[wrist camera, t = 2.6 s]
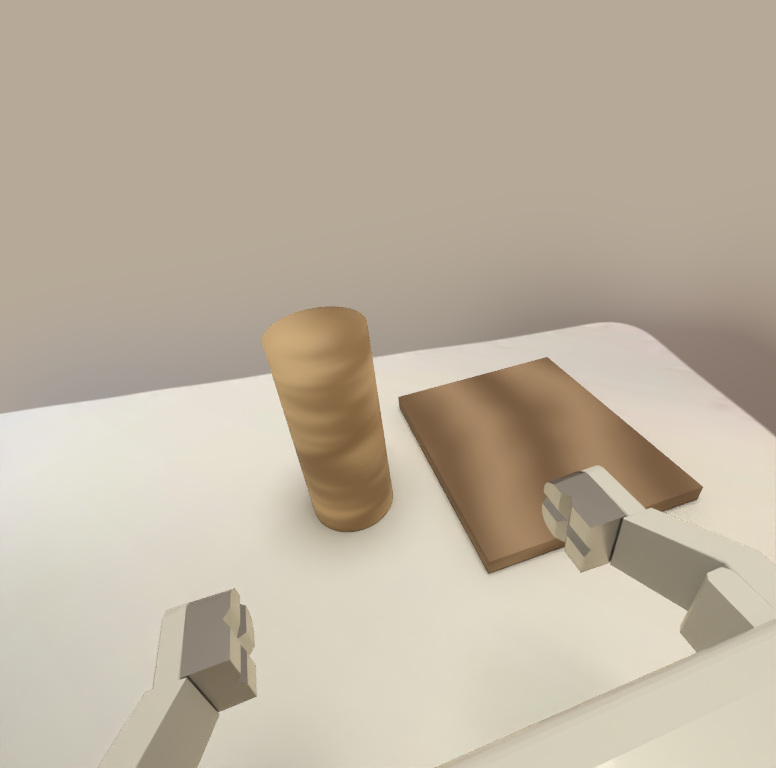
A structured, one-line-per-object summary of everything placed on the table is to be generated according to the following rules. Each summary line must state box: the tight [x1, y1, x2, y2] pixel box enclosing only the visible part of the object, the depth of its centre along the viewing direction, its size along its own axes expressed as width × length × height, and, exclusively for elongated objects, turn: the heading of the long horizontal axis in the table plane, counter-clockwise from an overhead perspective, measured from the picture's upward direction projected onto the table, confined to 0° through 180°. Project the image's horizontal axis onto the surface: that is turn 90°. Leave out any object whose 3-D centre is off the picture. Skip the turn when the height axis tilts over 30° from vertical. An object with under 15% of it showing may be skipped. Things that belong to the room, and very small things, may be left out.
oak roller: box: [262, 307, 393, 532], centre depth 24 cm, size 5×5×12 cm
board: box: [398, 357, 703, 573], centre depth 29 cm, size 13×15×1 cm
